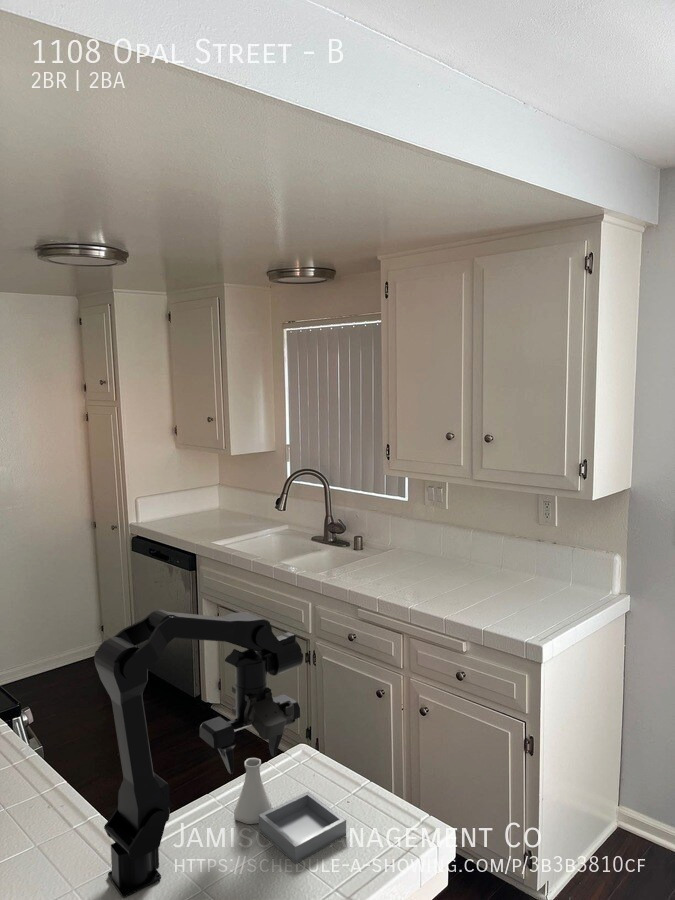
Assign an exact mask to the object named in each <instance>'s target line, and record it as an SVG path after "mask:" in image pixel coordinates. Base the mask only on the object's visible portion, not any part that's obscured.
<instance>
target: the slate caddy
mask: <svg viewBox="0 0 675 900" xmlns="http://www.w3.org/2000/svg"><path fill="white" fill-rule="evenodd" d="M258 832H260V833H261V834H262V835H263V836H264V837H265V838H266V839H267V840H268V841H270V843H272V844H273V845H274V846H275V847H276V848H277V849H278V850H280V852H282V853H283V854H284V855H285V857H287V858H289V860H291V861H292V862H293V863H294V864H296V865H297V864H298V863H299V862H302V861H303V860H305V859H307V858H308V857H311V856H312V855H314V854H316V853H318V852H320V851H321V850H323V849H325V848H327V847H329V846H331V845H333V844H334V843H336V842H338V841H340V840H342V839H343V838H345V837H347V819H346V818H345V817H344V816H342V815H341V814H339V813H338V812H337V811H335V810H334V809H333V808H331V807H330V806H329V805H327V804H326V803H324V802H323V801H322V800H320V799H319V798H318V797H316V796H315V795H314V794H313V793H311V792H310V791H305V792H303V793H302V794H299V795H298V796H295V797H293V798H291V799H288V800H287V801H284V802H282V803H281V804H279V805H276V806H275V807H272V809H270V810H268V811H266V812H264V813H261V814H259V823H258Z"/></svg>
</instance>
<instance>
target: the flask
mask: <svg viewBox="0 0 675 900" xmlns="http://www.w3.org/2000/svg"><path fill="white" fill-rule="evenodd" d="M243 766H244V769H245V776H244V782H243V784H242V788H241V792H240V794H239V796H238V797H239V798H238V800H237V802H236V805H235V808H234V820H235V821H238V822H241V823H242V824H243V823H244V824H247V825H252V824H259V814H261V813H264V812H266V811H268V810H270V809H272V808H273V807H272V803H271V801H270V800H271V799H270V798H269V796H268V793H267V791H266V788H265V785H264V783H263V780H262V776H261V770H260V769H261V766H262V760H261V759H260V758H257V757H249V758H246V760H244V765H243Z"/></svg>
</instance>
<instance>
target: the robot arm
mask: <svg viewBox="0 0 675 900" xmlns="http://www.w3.org/2000/svg"><path fill="white" fill-rule="evenodd" d="M174 639H177V640H192V641H209V642H225V643H229V644H232V645H235V646H237V647H238V646H239V647H241V648H244V649H243V650H238V649H236V648H233V650H232V651H231V652H230V653H229V654H228V655H227V656H226V658H224V663H227V664H228V665H230V666H233V667H234V668H235V672H234V674H235V685H232V686H231V692H232V693H234V694H235V706H233V707H231V709H232V710H231V713H232V714H233V715H235V718H233V719H231V720H228V721H227V720H225V719H224V718H222V716H221V715H220V716H217V717H214V718H210V719H208V720H205V721H203V722H202V723H201V724H200V726H199V738H201V739H202V741H204V742H205V743H206V744H208V745H209V746H211V748H213V749H214V750H215V749H216V750H217V751H218V752H219V755H220V757H221V759H222V761H223V763H224V765H225V768H226V769H227V772H228V773H229V774H230V775H232V774H234V766H235V765H234V748H235V747H236V745H237V743H236V742H235V738H236V732H237V731H240V730H241V731H242V730H244V729H245V728H249V727H252V726H253V728H254V729H255V731H256V732H257V733H258V735H259V737H260V738H261V739H262V740H265V741H268V749H269V753H270V756H271V757H276V755H277V752H278V749H279V747H280V743H281V740H282V737H283V735H284V732H285V730H286V729H287V728H288V727H289V726H291V725H292V724H294V723H295V722H296V720H298V719H300V718H301V715H302V710H301V709H302V707H301V705H300V702H298V701H296V700H295V699H293V698H291V697H290V696H288V695H286V694H285V693H283V694H280V695H277V696H274V697H273V693H272V689H271V688H269V687H268V674H269V675H270V676H273V677H274V676H278V675H280V674H283V673H286V672H288V671H290V670H293V669H296V668H299V667H301V665H302V664H303V661H304V653H303V650H302V648H301V646H300V644H299V642H298V641H297V640H296V639H297V638H296V634H294V633H292V632H290V631H288V632H284V633H283V634H281V635H279V636H276V634H274V632H273V627H272V624H271V621H269V620H268V619H265V618H262V617H260V616H257V615H255V614H252V613H250V612H247V611H239V612H230V613H228V614H226V615H222V616H221V615H220V616H216V615H215V616H214V615H207V614H206V615H205V614H194V613H183V612H174V611H167V610H163V609H157V610H154V611H152V612H151V613H149V614H148V615H146V617H144V618H143V619H141V620H140V621H137V622H135V623H133V624H131V625H129V626H126V627H124V628H123V629H121V630H120V631H119V632H118V633H117V634H115V635H114V636H113V637H109V638H108V639H106V640H104V641H103V642H102V643H101V644H100V645H99V646H98V648H97V650H96V651H95V652H94V655H93V656H94V657H93V658H94V660H93V661H94V665H95V668H96V670H97V673H98V676H99V679H100V681H101V683H102V685H103V687H104V688H105V691H106V692H107V694H108V695H109V698H110V701H111V706H112V712H113V713H112V714H113V719H114V725H115V732H116V738H117V745H118V751H119V757H120V764H121V769H122V770H121V771H122V776H123V778H122V782H121V784H120V787H119V790H118V792H117V793H118V796H117V800H118V801H117V806H116V808H115V810H114V811H113V813H112V814H111V816H110V817H109V818H108V820H107V822H106V823H105V824H104V827H103V830H104V831H105V833H106V835H107V837H108V838H110V839H112V841H113V843H111V844H110V854H111V855H110V857H111V858H110V859H111V860H110V861H111V870H110V871H108V873H107V877H108V878H109V881H111V883H112V885H113V886H114V888H115V889H116V890H117V892H118V893H119V895H120V896H121V897H122V898H126V897H128V896H130V895H133V894H134V893H137V892H138V891H140V890H142V889H144V888H146V887H149V886H150V885H152V884H155V883H156V882H158V881H160V880H161V879H162V875H161V873H160V872H159V870H158V869H159V868H160V851H159V849H160V846H161V843H162V839H163V838H162V837H163V836H164V835H163V834H164V831H165V827H166V824H167V822H169V819H170V816H171V814H170V812H171V810H170V808H173V807H174V805H173V804H172V802H171V798H170V796H171V794H170V785H169V783H168V782H166V781H165V780H164V779H163V778H162V777H160V776H159V775H158V774H156V773H155V772H154V766H153V761H152V760H153V759H152V752H151V747H150V741H149V740H150V739H149V734H148V727H147V720H146V719H147V718H146V713H145V705H144V699H143V693H144V691H145V688H146V685H147V683H148V680H149V668H151V667H152V666H153V665H154V664H155V663H156V662H157V661H159V659H160V658H161V656H162V654H163V653H164V651H165V649H166V647H167V646H168V644H169V643H170V642H171V641H173V640H174ZM143 642H145V643H144V644H143V645H141V646H140V647H138V645H140V644H142V643H143Z"/></svg>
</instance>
